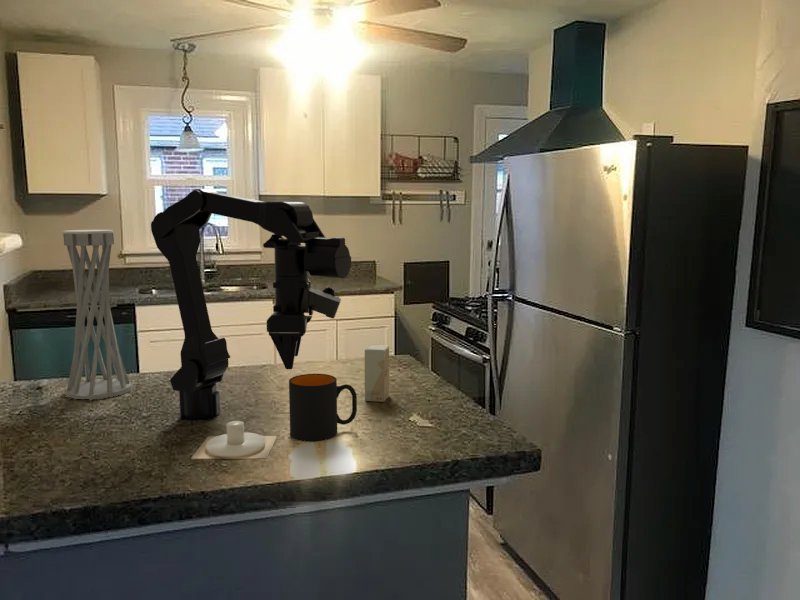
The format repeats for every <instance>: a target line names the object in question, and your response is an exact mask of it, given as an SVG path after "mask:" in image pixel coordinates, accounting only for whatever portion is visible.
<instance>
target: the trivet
mask: <svg viewBox="0 0 800 600" xmlns="http://www.w3.org/2000/svg"><path fill="white" fill-rule="evenodd" d="M217 436H218V435H216V436H215V435H211V436H210V435H209V436H207V437H206V438H205V440H204V441H203V442H202V444H201V445H200V446H199V447H198V449H197V450H196V451H195V452H194V454H193V455H192V456H191V457H190V459H191V460H217V459H218V460H228V459H229V460H233V459H234V460H242V459H243V460H248V459H249V460H250V459H251V460H252V459H253V460H254V459H255V460H256V459H257V460H258V459H262V460H264V459H267V458H268V456H269V454H270V452H271V450H272V448H273V446H274V444H275V442H276V440H277V438H278V435H262V436H263V437H264V438H265V447H264V448H263V449H262V450H261V451H259V452H257V453H255V454H252V455H248V456H243V457H235V458H222V457H216V456H212V455H210V454H208V453H207V451H206V443H207V442H208V441H209V440H210V439H212V438H214V437H217Z"/></svg>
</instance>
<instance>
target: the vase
mask: <svg viewBox="0 0 800 600" xmlns="http://www.w3.org/2000/svg"><path fill="white" fill-rule="evenodd" d="M62 234H63V236H62V237H63V245H64V246H66V249H67V252H68V256H69V260H70V263H71V266H72V274H73V275H72V276H73V283H74V284H73V285H74V291H75V299H76V301H75V302H76V317H75V329H74V330H75V331H74V343H73V344H74V345H73V346H74V348H73V356H72V360H71V361H72V362H71V367H70V372H69V378H68V384H67V387H66V388H65V389H64V390H63V393H64V394H65V395H66V396H65V395H64V396H65V398H66V397H71V398H76V399H97V400H104V399H103V398H106V399H109V398H108V397H110V398H113V396H114V397H119V396H122V394H123V395H125V394H127V393H129V392H131V391H132V389H133V382H132V381H131V380H129V377H128V375H127V371H126V368H125V364H124V361H123V359H122V355H121V352H120V349H119V344H118V339H117V336H116V335H117V334H116V330H115V325H114V320H113V315H112V310H111V306H110V305H111V304H110V303H111V302H110V277H109V276H110V275H109V274H110V273H109V272H110V271H109V269H110V260H111V252H112V245H114V244H115V241H114V240H115V239H114V229H72V230H71V229H70V230H62ZM89 246H92V254H91V258H90V256H89V252H88V249H87V247H89ZM100 246H101V248H102V251H101V255H100V251H99V248H100ZM77 247H80V253H79V252H78V251H79V250H78V249H77ZM79 254H80V255H79ZM85 267H87V269H88V270H87V271H88V276H87V274H86V271H85V269H86V268H85ZM95 269H96V270H97V273H95ZM96 274H97V275H96ZM92 285H93V291H92ZM84 291H85V292H84ZM89 303H90V308H89ZM97 304H99V307H98V305H97ZM103 318H104V321H103ZM94 320H96V322H97V324H96V325H97V326H96V331H95V326H94ZM85 321H87V323H86V325H85ZM101 336H102V339H103V342H104V345H105V362H106V365H105V363H104V359H103V355H102V352H101V348H100V344H101ZM91 338H92V339H91ZM90 339H91V340H92V342H93V345H94V349H93V350H94V351H93V358H92V365H91V366H92V367H91V370H90V361H89V351H88V350H89V349H88V348H89V343H90ZM80 347H81V351H80ZM98 364H99V368H100V372H101V376H102V378H98V379H96V377H97V368H98ZM112 367H113V369H112ZM112 370H114V373H115V376H116V378H115V377H114V378H113V371H112ZM83 373H84V374H85V380H84V381H82V377H83ZM118 395H119V396H118ZM71 398H70V399H71ZM76 399H75V400H76Z"/></svg>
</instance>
